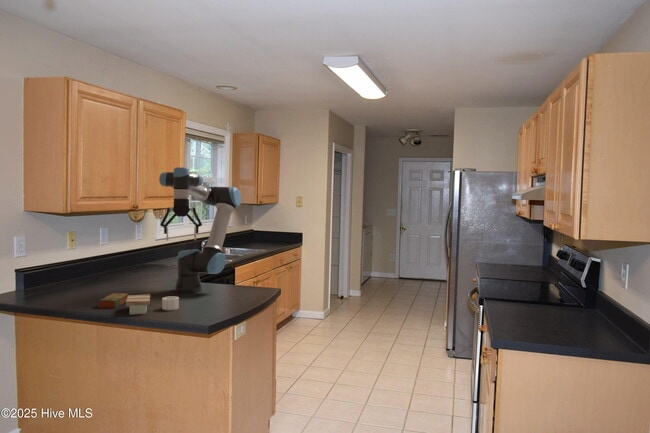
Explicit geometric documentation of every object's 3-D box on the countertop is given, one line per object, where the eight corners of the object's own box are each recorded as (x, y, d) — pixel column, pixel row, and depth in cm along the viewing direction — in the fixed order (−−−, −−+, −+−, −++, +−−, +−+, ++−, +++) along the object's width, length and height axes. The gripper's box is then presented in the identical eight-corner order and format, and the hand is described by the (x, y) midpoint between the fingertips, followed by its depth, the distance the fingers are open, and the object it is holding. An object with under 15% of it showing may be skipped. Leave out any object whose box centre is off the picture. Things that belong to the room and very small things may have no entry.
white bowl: (162, 307, 241) (162, 296, 241) (178, 306, 243) (178, 296, 243) (162, 310, 234) (162, 300, 233) (179, 309, 236) (179, 299, 236)
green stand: (131, 307, 240) (131, 298, 240) (146, 306, 242) (146, 298, 242) (129, 314, 226) (129, 305, 225) (145, 313, 228) (145, 305, 228)
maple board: (128, 299, 239) (128, 295, 239) (150, 298, 242) (150, 294, 242) (126, 306, 225) (126, 302, 225) (149, 304, 228) (149, 300, 228)
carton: (128, 301, 254) (128, 293, 254) (115, 308, 238) (115, 300, 238) (112, 301, 254) (112, 292, 254) (98, 308, 238) (97, 299, 238)
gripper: (155, 198, 242) (155, 241, 243) (207, 198, 250) (207, 240, 251) (155, 197, 249) (155, 239, 250) (206, 198, 257) (205, 238, 258)
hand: (181, 240), depth 250 cm, fingers open, 13 cm apart
